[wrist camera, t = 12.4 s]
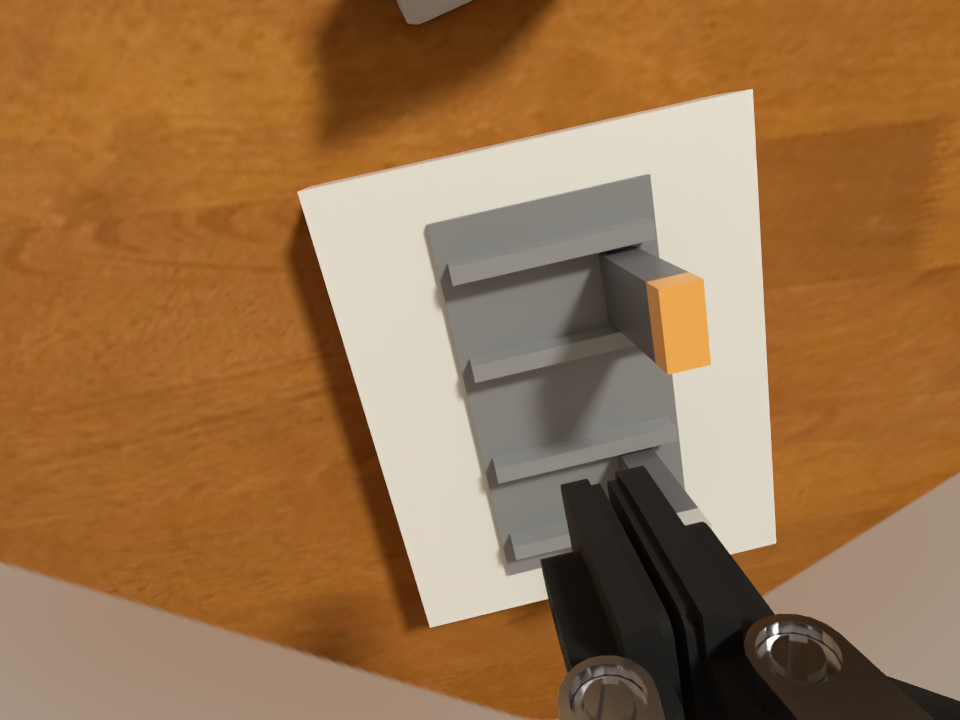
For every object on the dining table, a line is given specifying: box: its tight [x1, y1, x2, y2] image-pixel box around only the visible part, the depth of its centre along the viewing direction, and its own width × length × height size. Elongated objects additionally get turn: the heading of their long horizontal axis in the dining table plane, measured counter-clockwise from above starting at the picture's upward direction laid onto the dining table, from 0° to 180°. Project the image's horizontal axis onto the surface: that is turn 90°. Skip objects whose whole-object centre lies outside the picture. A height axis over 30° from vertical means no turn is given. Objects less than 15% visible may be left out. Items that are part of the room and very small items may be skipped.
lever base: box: [298, 89, 776, 628], centre depth 29 cm, size 20×24×11 cm
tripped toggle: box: [599, 246, 711, 375], centre depth 25 cm, size 2×3×7 cm, turn 12°
